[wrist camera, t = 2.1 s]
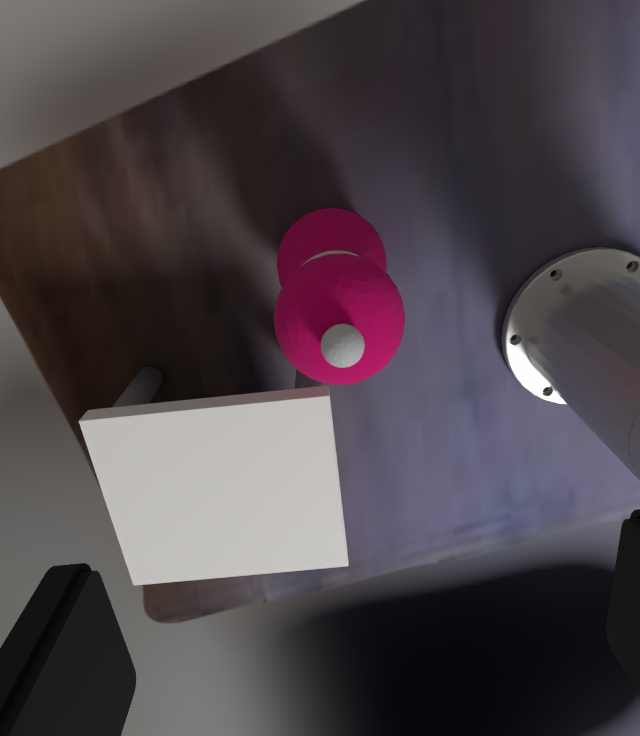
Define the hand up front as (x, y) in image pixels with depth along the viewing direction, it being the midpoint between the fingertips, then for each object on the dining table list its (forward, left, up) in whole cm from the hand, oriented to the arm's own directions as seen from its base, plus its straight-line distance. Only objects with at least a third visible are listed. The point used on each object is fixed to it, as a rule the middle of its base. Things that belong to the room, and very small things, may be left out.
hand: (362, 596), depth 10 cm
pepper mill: (0, 0, -32) cm, 32 cm away
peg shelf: (+9, +14, -32) cm, 36 cm away
